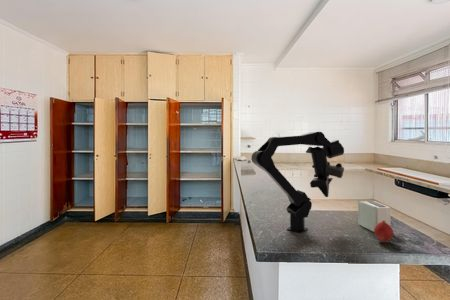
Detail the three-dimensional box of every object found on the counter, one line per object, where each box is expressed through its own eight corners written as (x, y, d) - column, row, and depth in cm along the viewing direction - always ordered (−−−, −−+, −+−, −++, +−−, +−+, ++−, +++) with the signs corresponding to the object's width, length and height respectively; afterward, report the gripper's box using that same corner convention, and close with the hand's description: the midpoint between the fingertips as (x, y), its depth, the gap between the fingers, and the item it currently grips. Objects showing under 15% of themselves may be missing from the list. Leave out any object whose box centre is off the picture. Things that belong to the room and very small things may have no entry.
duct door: (373, 231, 105) (373, 206, 104) (358, 224, 115) (358, 201, 114) (376, 231, 105) (376, 206, 104) (360, 223, 115) (360, 201, 114)
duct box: (377, 233, 104) (377, 207, 104) (363, 224, 115) (363, 200, 115) (390, 232, 104) (390, 206, 104) (374, 223, 115) (374, 200, 115)
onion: (370, 239, 98) (370, 218, 98) (385, 238, 98) (385, 217, 98) (381, 245, 92) (381, 222, 92) (397, 244, 92) (397, 222, 92)
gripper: (335, 164, 99) (343, 204, 100) (344, 153, 114) (350, 188, 116) (306, 167, 105) (313, 205, 107) (317, 157, 120) (324, 189, 122)
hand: (326, 196), depth 113 cm, fingers closed
